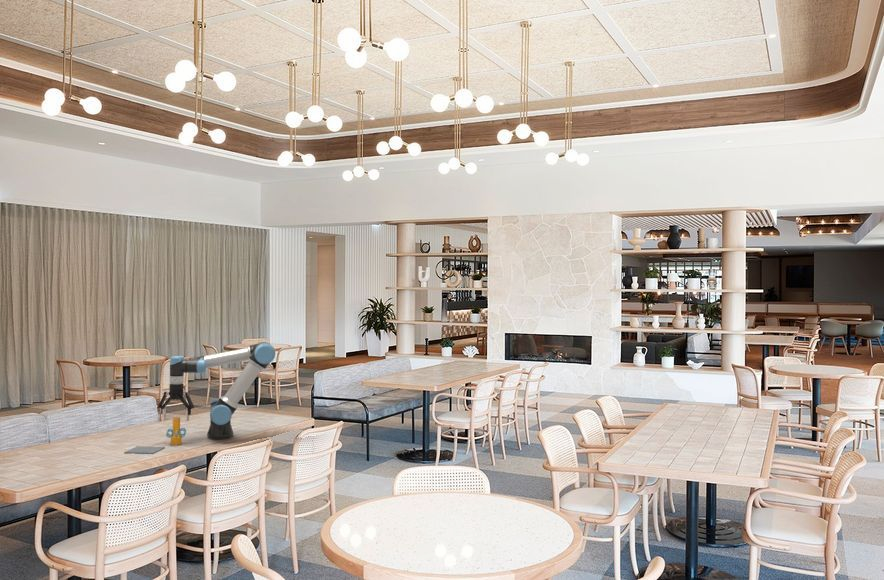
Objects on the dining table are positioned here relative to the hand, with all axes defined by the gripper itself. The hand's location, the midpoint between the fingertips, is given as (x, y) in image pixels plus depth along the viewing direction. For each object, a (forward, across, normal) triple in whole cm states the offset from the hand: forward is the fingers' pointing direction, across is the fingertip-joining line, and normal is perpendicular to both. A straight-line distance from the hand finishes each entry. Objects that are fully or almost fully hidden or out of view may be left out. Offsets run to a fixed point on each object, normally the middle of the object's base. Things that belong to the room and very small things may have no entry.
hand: (175, 420), depth 401 cm
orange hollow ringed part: (+14, 0, 0) cm, 14 cm away
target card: (+14, -10, -17) cm, 24 cm away
